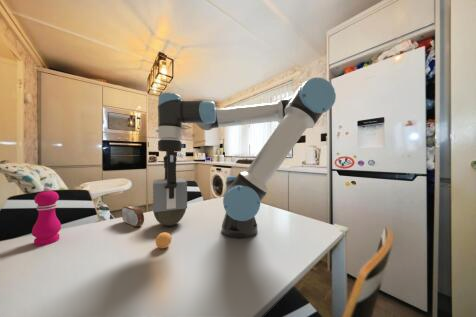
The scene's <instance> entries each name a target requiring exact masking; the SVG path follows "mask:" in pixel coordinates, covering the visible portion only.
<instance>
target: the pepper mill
mask: <svg viewBox="0 0 476 317" xmlns="http://www.w3.org/2000/svg"><path fill="white" fill-rule="evenodd" d="M59 199H60V196H59V194H58V192H56V191H53V190H51V187H50V186H45V187H43V191H41V192H38V193H37V194H36V195H35V196H34V203H35V204H36V211H37V212H38V216H37V219H36V222H35V224H34V225H33V227H32V229H31V234H32V236H33V237H34V240H33V245H34V246H37V247H38V246H40V247H41V246H42V247H43V246H47V245H49V244H53V243H55V242H58V241H59V240H60V231H61V230H62V223H61V221H60V220H59V218H58V217H57V215H56V214H57V213H56V208H57V207H58V206H57V205H58V203H57V202H58V200H59Z"/></svg>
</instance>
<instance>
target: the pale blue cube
mask: <svg viewBox="0 0 476 317" xmlns="http://www.w3.org/2000/svg"><path fill="white" fill-rule="evenodd" d="M152 181H153V182H152V191H153V192H152V212H153V213H154V212H160V211H168V210H177V209H185V208H186V209H188V181H187V180H185V179H184V178H176V184H177V186H176V208H172V209H167V189H165V186H167V179H162V178H161V179H152Z"/></svg>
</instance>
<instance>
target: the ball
mask: <svg viewBox="0 0 476 317" xmlns="http://www.w3.org/2000/svg"><path fill="white" fill-rule="evenodd" d="M171 236H172V235H171V234H170V233H169V232H161V233H159V234H158V235H157V236H156V238H155V246H156V247H157V248H159V249H166V248H168V247H169V246H170V244H171V243H172V237H171Z"/></svg>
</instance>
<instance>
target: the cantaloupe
mask: <svg viewBox="0 0 476 317" xmlns="http://www.w3.org/2000/svg"><path fill="white" fill-rule="evenodd" d="M186 210H187V208H185V209H177V210H168V211H160V212H153V215H154V217H155V218H154V219H155V220H156V221H157V222H158V223H159V224H160V225H162V226H167V227H172V226H175V225H176V224H178V223H180V221H181V220H182V219H183V217H184V216H185V213H186Z"/></svg>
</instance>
